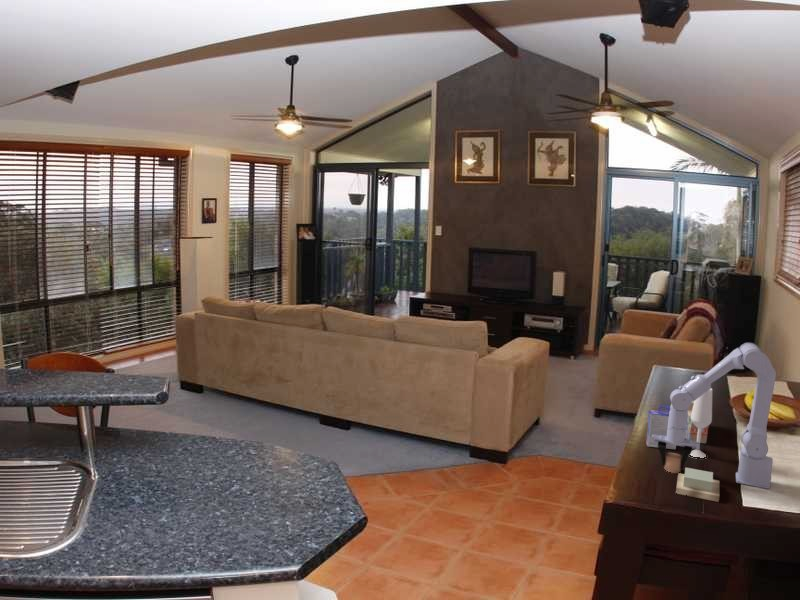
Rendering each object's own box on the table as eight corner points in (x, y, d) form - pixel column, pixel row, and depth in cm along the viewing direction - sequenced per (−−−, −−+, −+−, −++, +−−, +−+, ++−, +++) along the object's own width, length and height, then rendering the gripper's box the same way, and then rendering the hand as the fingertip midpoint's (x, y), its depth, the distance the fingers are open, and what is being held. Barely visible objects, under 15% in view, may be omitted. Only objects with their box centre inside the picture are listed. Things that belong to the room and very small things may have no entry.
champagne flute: (696, 450, 255) (704, 384, 251) (711, 457, 249) (720, 390, 245) (682, 452, 252) (689, 386, 248) (696, 459, 246) (705, 392, 242)
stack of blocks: (706, 444, 262) (710, 411, 259) (688, 442, 262) (692, 410, 260) (691, 423, 283) (695, 393, 280) (674, 422, 283) (678, 391, 281)
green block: (711, 481, 225) (713, 472, 225) (711, 491, 218) (712, 482, 217) (684, 476, 228) (685, 467, 228) (683, 486, 221) (684, 476, 221)
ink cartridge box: (674, 444, 260) (678, 405, 257) (676, 450, 254) (681, 410, 252) (645, 441, 262) (649, 402, 259) (647, 447, 256) (651, 407, 254)
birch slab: (718, 488, 227) (719, 480, 226) (718, 503, 216) (719, 496, 215) (677, 480, 231) (678, 473, 231) (675, 495, 220) (676, 487, 220)
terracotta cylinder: (680, 468, 238) (682, 454, 238) (679, 474, 234) (681, 459, 233) (664, 465, 240) (666, 451, 239) (663, 471, 236) (665, 457, 235)
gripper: (701, 426, 235) (696, 465, 238) (654, 418, 241) (650, 457, 243) (701, 433, 229) (696, 473, 231) (652, 425, 234) (648, 465, 237)
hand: (672, 466), depth 237 cm, fingers closed on terracotta cylinder, 5 cm apart
